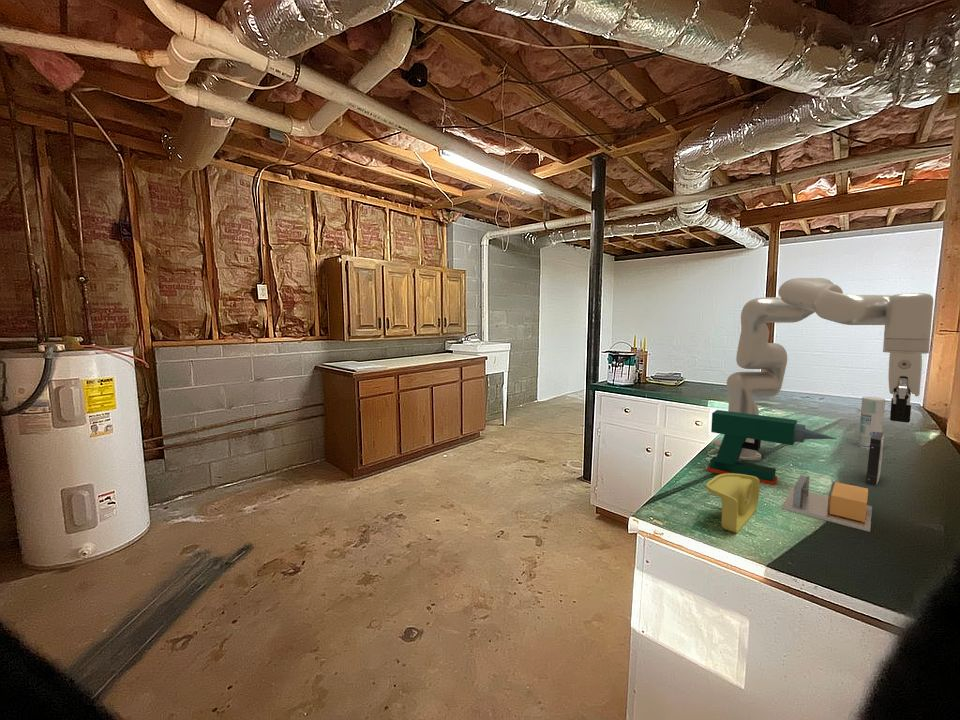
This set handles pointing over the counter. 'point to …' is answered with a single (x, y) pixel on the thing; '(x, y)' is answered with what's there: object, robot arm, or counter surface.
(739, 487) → the plastic component
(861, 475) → the counter surface
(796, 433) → the power tool
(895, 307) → the robot arm
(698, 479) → the counter surface
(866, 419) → the tall white carton
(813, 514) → the vise base
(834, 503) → the block
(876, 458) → the disk drive
